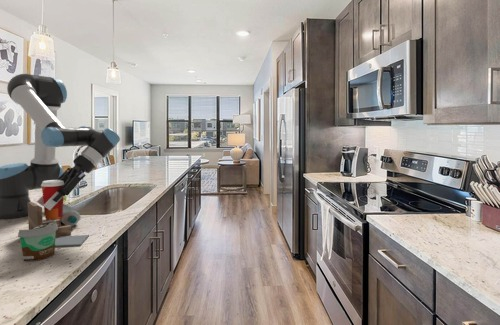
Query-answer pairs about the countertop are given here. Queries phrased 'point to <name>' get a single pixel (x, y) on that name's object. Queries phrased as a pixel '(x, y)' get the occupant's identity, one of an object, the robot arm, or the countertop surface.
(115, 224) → the countertop surface
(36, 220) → the walnut rack
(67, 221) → the crushed grey plastic bottle
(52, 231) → the food container
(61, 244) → the charcoal mat
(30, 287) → the countertop surface
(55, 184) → the paper cup
